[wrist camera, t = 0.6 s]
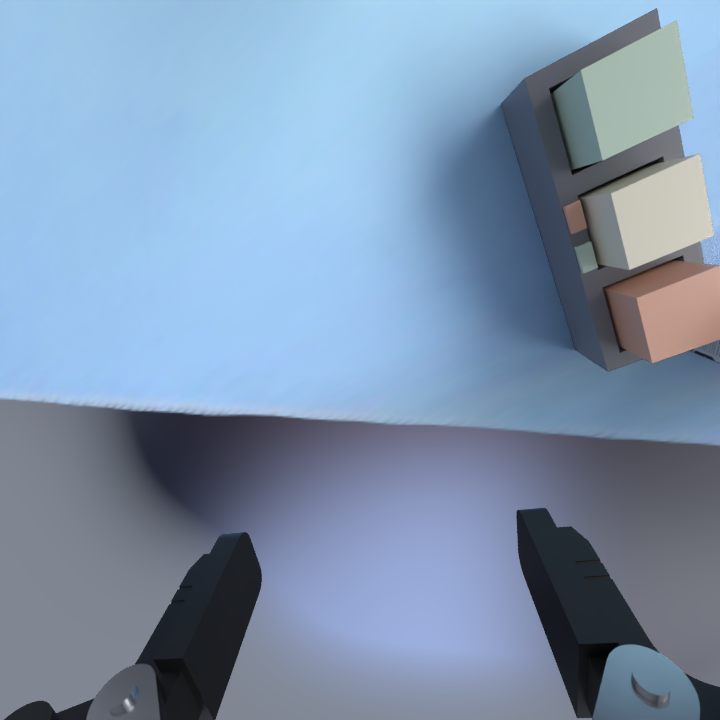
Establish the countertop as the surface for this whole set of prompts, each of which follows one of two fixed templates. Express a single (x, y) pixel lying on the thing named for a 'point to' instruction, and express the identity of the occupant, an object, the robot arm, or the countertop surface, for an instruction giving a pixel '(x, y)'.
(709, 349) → the candy bar box
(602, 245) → the key sand
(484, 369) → the countertop surface
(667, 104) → the key sage
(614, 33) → the grey long block
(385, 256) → the countertop surface
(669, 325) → the key terracotta
